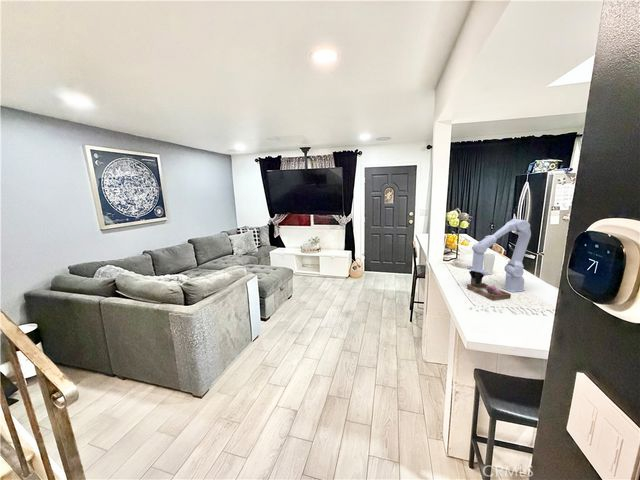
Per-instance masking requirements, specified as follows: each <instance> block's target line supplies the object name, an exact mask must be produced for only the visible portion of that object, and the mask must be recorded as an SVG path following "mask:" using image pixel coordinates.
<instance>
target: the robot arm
mask: <svg viewBox="0 0 640 480" xmlns="http://www.w3.org/2000/svg"><path fill="white" fill-rule="evenodd" d="M509 232H516V233H517V235H518V238H517V241H516V243H515V248H514V250H513V253H512V256H511V259H510V260H508V261H507V264H506V265H505V266H504V272H506V273H505V280H504V286H501V287H500V288H501V289H502V290H506V291H507V292H508V291H509V292H511V293H516V292H518V293H519V292H523V291H526V290H525V289H524V287H525V286H524V285H525V278H524V277H523V276H524V264H523V260H524V257H525V254H526V252H527V248H528V245H529V243H530V241H531V236H532V231H531V224H530V223H529V221H527V220H526V219H519V218H512V219H511V220H509V221H507V222H506V223H505V225H502V227H501V228H499V229H498V230H496V232H495V233H493V234H491V235H490V234H489V235H486V236H485V235H484V238H483V239H482V240H480V241H478V242H477V243H475V244H473V245H472V247H471V249H472V252H473V254H472V265H471V266H470V265H468V266H467V267H466V269H467V270H469V271H468V273H469V274H470V279H471V278H476V284H480V282H481V280H482V281H483V278H484V276H485V277H486V276H489V275H488V272H486V271H484V254H485V253H487V249H489V248H490V247H492V246H493V245H494V244H496V243H497V240H498V239H500V238H501V237H503V236H504V235H506V234H507V233H509Z"/></svg>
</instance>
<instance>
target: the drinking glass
mask: <svg viewBox="0 0 640 480" xmlns="http://www.w3.org/2000/svg"><path fill="white" fill-rule="evenodd" d="M495 260H496V255H495V254H494V253H488V252H485V253H484V259H483V270H484V271H486V272H488V275H487V276H489V275H492V274H493V271H494V270H493V269H494V265H495Z"/></svg>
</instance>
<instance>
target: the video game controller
mask: <svg viewBox="0 0 640 480" xmlns="http://www.w3.org/2000/svg"><path fill="white" fill-rule="evenodd" d="M487 285H488V286H486V287H485V288H484V290H485V292H486V291H487V293H489V294H491V295H500V294H503V293H501V291H500V290H501V289H500V290H498V289H499V288H497V287H496V286H495V285H489V284H487Z"/></svg>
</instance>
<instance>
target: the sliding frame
mask: <svg viewBox="0 0 640 480" xmlns="http://www.w3.org/2000/svg"><path fill="white" fill-rule="evenodd" d="M488 285H489V284H486V283H484V282H483V279H482V280H481V282H480V284H476V278H471V277H470V283H469V284H467V285H466V289H467V290H469V291H471V292H474V293H476V294H478V295H480V296H482V297H485V298H486V299H489V300H491V301H498V300H507V299H511V297H512V296H511V295H512V293H509V292H508V291H507V292H506V291H504V290H503V289H502V290H501V289H500V288H497V289H498V290H500V291H501V293H503V294H500V295H493V294H492V295H491V294H489V292H488V291H487V292H486V291H484V290H481V289H482V288H483V289H485V287H486V286H488ZM480 288H481V289H480Z"/></svg>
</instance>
